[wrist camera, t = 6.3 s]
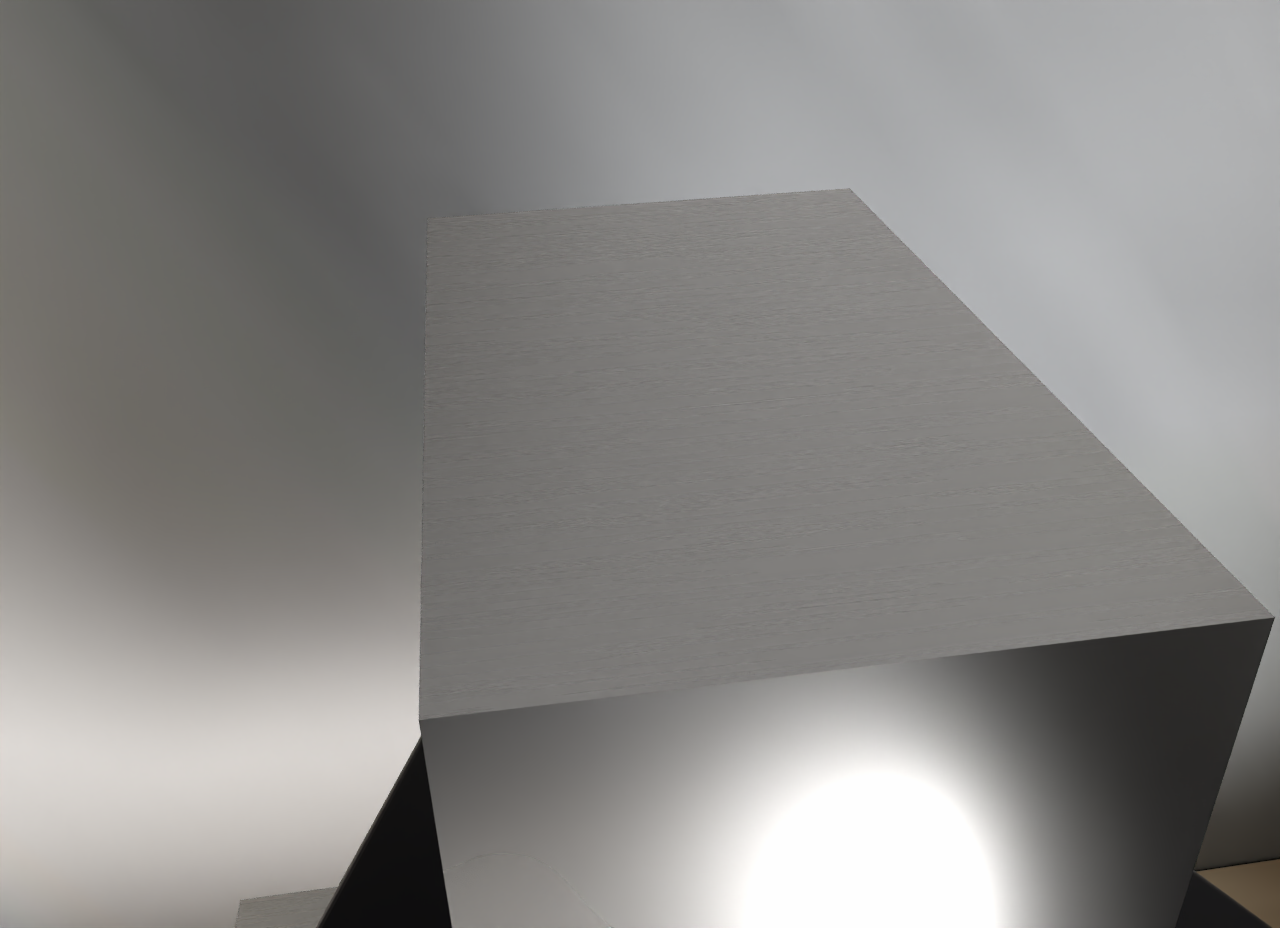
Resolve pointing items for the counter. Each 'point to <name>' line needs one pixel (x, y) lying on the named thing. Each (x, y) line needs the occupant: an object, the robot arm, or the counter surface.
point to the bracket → (789, 595)
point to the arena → (1251, 887)
